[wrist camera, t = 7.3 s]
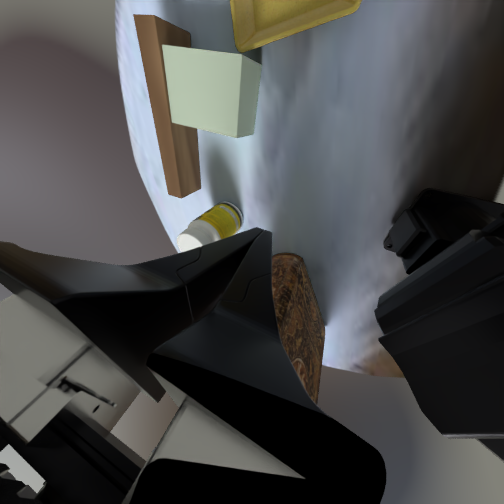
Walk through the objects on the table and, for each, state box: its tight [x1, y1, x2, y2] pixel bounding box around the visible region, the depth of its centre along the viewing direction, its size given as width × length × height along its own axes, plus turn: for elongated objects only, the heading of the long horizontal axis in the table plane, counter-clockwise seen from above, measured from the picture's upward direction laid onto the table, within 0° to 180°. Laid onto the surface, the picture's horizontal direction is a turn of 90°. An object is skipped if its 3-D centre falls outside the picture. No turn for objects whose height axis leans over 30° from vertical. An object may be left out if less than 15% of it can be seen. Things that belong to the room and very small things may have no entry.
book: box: [272, 253, 325, 405], centre depth 20 cm, size 16×6×25 cm, turn 24°
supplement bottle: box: [177, 202, 243, 252], centre depth 23 cm, size 5×5×8 cm
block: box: [162, 45, 262, 138], centre depth 16 cm, size 7×5×4 cm
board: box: [133, 14, 201, 198], centre depth 19 cm, size 2×14×4 cm, turn 172°
